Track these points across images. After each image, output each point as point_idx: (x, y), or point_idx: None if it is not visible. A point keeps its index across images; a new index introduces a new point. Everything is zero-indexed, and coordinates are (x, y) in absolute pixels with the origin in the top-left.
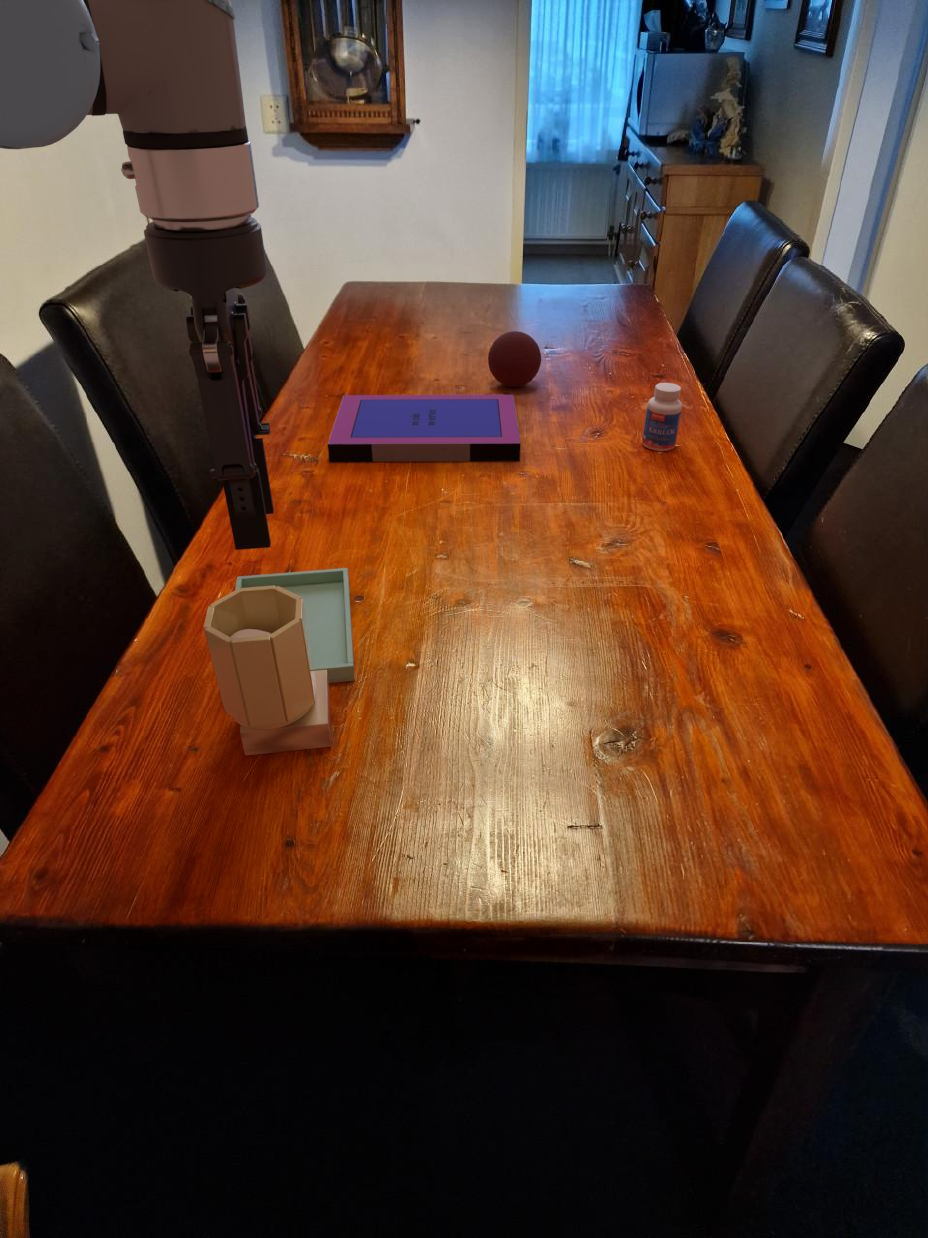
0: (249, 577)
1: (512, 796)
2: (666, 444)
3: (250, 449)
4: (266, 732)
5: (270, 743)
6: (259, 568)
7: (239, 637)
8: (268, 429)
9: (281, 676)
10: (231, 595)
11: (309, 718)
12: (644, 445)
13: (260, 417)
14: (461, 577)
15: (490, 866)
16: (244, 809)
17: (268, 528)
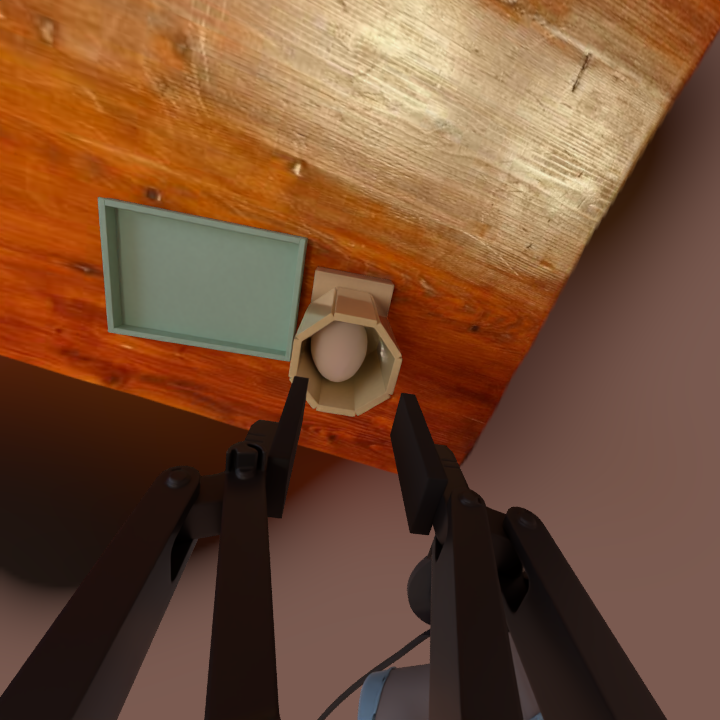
0: (111, 319)
1: (516, 131)
2: None
3: (490, 538)
4: None
5: None
6: (71, 300)
7: (341, 373)
8: (257, 453)
9: (394, 336)
10: None
11: (381, 299)
12: None
13: (187, 468)
14: (113, 20)
15: (570, 184)
16: (430, 354)
17: (406, 405)
